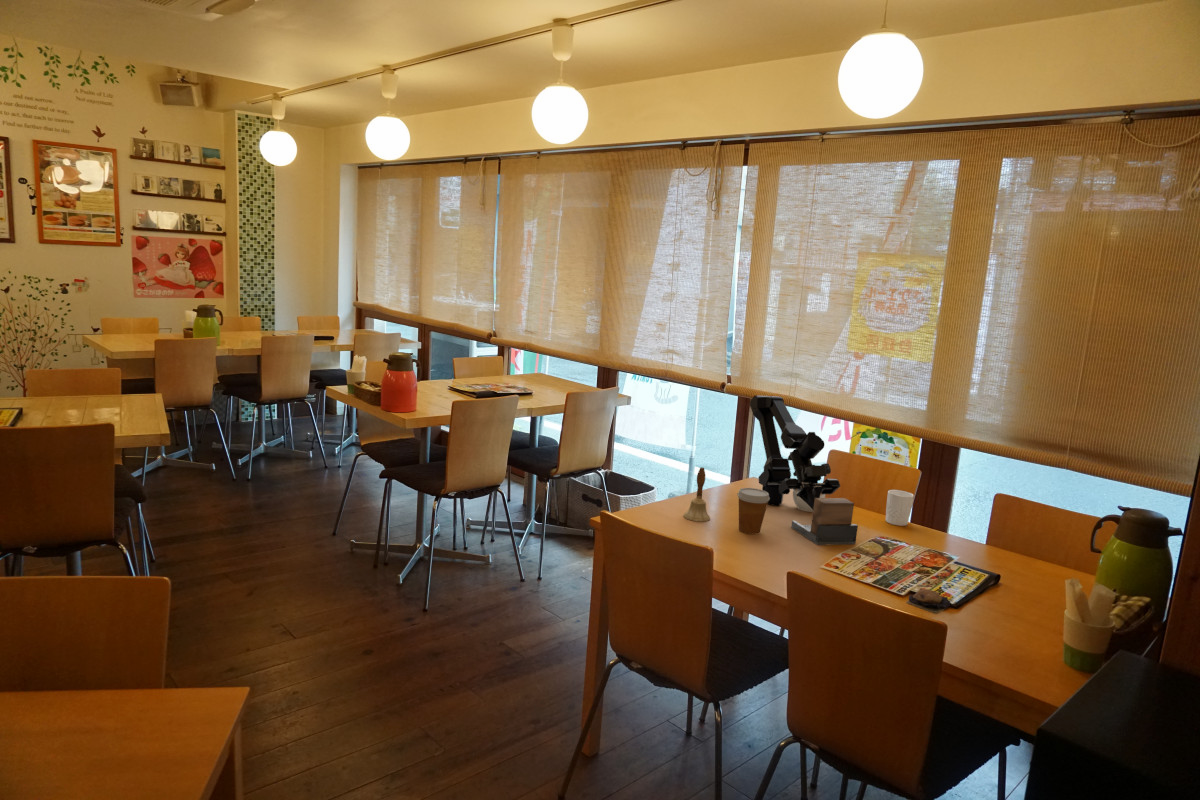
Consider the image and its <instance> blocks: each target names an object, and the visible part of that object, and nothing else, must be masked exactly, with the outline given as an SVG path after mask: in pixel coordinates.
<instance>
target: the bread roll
mask: <svg viewBox="0 0 1200 800" xmlns="http://www.w3.org/2000/svg"><path fill="white" fill-rule="evenodd" d="M906 604H907V605H910V606H913V607H916V608H919V609H921V610H924V611H926V612H929V613H932V614H935V615H937V614H939V613H941V612H943V611H945V610H946V609H948V608H949V607H950V606H951V600H949V599H948V597H946V596H942V595H940V593H938V592H936V591H935V590H931V589H928V588H921V589H920V590H918V591H916V593H915V594H911V595H910V594H909V595H908V600H907V601H906Z"/></svg>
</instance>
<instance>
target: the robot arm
mask: <svg viewBox="0 0 1200 800" xmlns="http://www.w3.org/2000/svg"><path fill="white" fill-rule="evenodd" d="M749 407H750V409H751V412H752V415H753V416H754V417H755V418H756V420H758V422H759V428H760V433H761V437H762V442H763V443H762V444H763V448H764V452H765V453H764V454H765V457H766V458H765V459H766V460H765V462H764V465H763V471H762V473H760V474H759V476H758V484H759V485H762V489H761V490H763V491H766V492H768V494H769V498H770V500H769V501H768V503H767V505H770V506H775V507H779V506H780V505H781V504H782V503H783V502H784V495H789V494H790V492H791V490H793V489H798V494H797V496H799V497H800V498H801V499H803V500H804V501H805V502H806V503H807V504H808V505H809V506H810V507H811V508H812V509H813V508H814V501H815V498H820V494H821V493H822V494H825V495H832V494H834V493H835V492H836V491H837V490H838V489H839V488H840V487H841V483H840V481H839V479H836V478H826V479H825V480H824V481H822V482H820V481H821V480H822V477H828V476H827V475H829V474H831V473H832V470H831V466H830V464H829V463H822V464H821V463H820V465H816V464H813V462H812V460H813V459H814V458H815V457H816V456H817V455H819V453H821V451H822V450H823V449H824V448H825V441H824V440H823V439H822V438H821V437H820V436H818V435H817V434H816V432H815V431H809V432H808V433H806V432H805V430H804V429H803V428H802V427H801V426H799V425H798V424H796V423H795V421H794V419H793V417H792V415H791V414H790V411H789V410H788V408H787V406H786V405H785V400H784V397H781V396H776V395H775V396H773V395H753V397H752V398H751V399H750V401H749ZM774 419H775V420H774ZM775 421H776V423H777V425H778V427H779V429H780V431H781V434H780V435H781V436H780V439H781V443H782V445H783V447H784V448H785V449H786V450H787V449H789V450H790V449H791V450H792V449H793V450H792V451H790V452H789V455H788V456H787V458H784V457H783V456H782V454H781V449H780V444H779V441H778V434H777V429H776V426H775ZM789 461H791V462H792V466H793V470H794V472H793V476H794V478H791V477H792V473H791V470H792V469H791V467H790V464H789V463H790V462H789ZM795 477H796V478H795Z"/></svg>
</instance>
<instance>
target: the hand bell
mask: <svg viewBox="0 0 1200 800" xmlns="http://www.w3.org/2000/svg"><path fill="white" fill-rule="evenodd" d="M705 482H706V470H705V467H699V470H698V472H697V476H696V485H697V491H696V498H693V499H691V502H690V506H689V508H687V509H688V510H687V511H686V512H684V513H683V518H684V519H686V520H689V521H693V522H696V523H699V522H700V523H704V522H709V521H710V520H711V517H710V515H709V514H708V511H707V502H706V500H704V499H703V489H704V485H705Z"/></svg>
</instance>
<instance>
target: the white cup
mask: <svg viewBox="0 0 1200 800" xmlns="http://www.w3.org/2000/svg"><path fill="white" fill-rule="evenodd" d="M914 497H915V496H914V494H913V493H912V492H908V491H905V490H900V489H889V490H888V491H887V497H886V508H885V522H887V523H889V524H890V525H895V526H900V527H901V526H903V527H904V526H908V523H909V518H910V515H911V510H912V506H913V501H914Z"/></svg>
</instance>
